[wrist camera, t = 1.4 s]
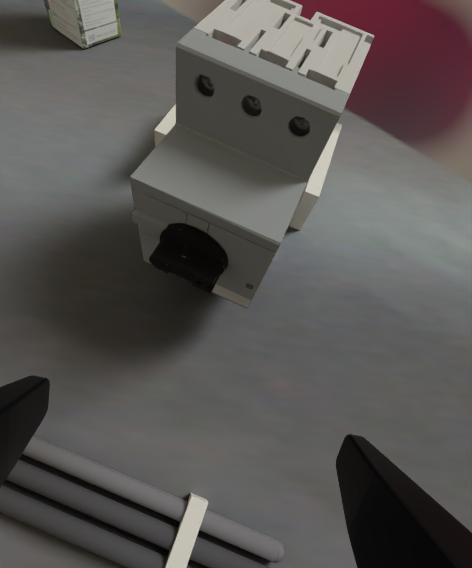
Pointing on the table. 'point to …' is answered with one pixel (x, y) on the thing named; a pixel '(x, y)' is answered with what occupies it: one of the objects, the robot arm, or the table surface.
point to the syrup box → (85, 20)
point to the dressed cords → (126, 515)
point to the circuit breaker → (242, 140)
